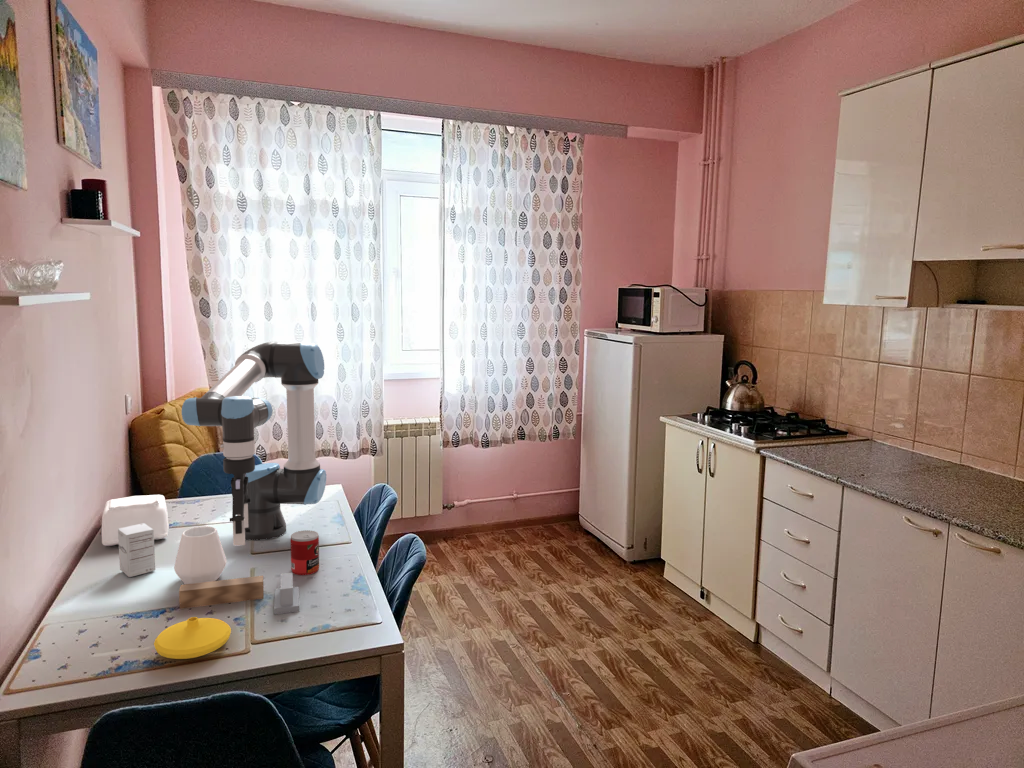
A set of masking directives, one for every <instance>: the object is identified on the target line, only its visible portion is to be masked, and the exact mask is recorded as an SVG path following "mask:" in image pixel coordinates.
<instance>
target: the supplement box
mask: <svg viewBox="0 0 1024 768" xmlns="http://www.w3.org/2000/svg"><path fill="white" fill-rule="evenodd" d="M118 540H119V544H118V555H119V557H118V558H119V570H120V571H121V572H123V573H124V574H125V576H127V577H128V578H131V577H135V576H140V575H144V574H148V573H152V572H155V571H156V558H155V557H156V556H155V555H156V554H155V540H154V531H153V529H152V528H151V527H149V526H147V525H146V524H145V523H143V524H137V525H133V526H128V527H124V528H119V529H118Z"/></svg>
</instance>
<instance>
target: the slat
mask: <svg viewBox="0 0 1024 768" xmlns="http://www.w3.org/2000/svg"><path fill="white" fill-rule="evenodd" d="M264 594H265V592H264V575H256V576H247V577H238V578H229V579H221V580H219V579H218V580H216V581H210V582H201V583H193V584H181V585H180V587H179V591H178V599H179V601H178V602H179V603H178V604H179V610H182V609H190V608H198V607H205V606H213V605H214V606H215V605H222V604H231V603H238V602H245V601H255V600H262V599H263V600H264Z"/></svg>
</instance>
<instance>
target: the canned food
mask: <svg viewBox="0 0 1024 768" xmlns="http://www.w3.org/2000/svg"><path fill="white" fill-rule="evenodd" d="M319 535H320V534H319V533H318V531H315V530H298V531H296V532H293V533H291V534H290V569H291V573H293V575H297V576H309V575H312V574H315V573H317V572H318V571H319V569H320V539H319V537H320V536H319Z"/></svg>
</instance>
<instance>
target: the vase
mask: <svg viewBox="0 0 1024 768" xmlns="http://www.w3.org/2000/svg"><path fill="white" fill-rule="evenodd" d="M231 633H232V628H231V626H230V624H228V623H227V622H225V621H224V620H221V619H219V618H213V617H200V618H199V617H197V616H191V617H189V618H187V619H186V620H183V621H180V622H176V623H175V624H172V625H170V626H168V627H167V628H165V629H163V630H162V631H161V632H160V633H159V634H158V635H157V637H156V638H155V640H154V642H153V645H154V649H155V652H156V653H157V654H158V655H160V656H161V657H163V658H167V659H176V660H187V659H194V658H195V659H196V658H199V657H202V656H205V655H207V654H210V653H212V652H215V651H216V650H218V649H220V648H221V647H223V646H224V645H225V644H226V643H227V642H228V641H229V639H230V636H231Z"/></svg>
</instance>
